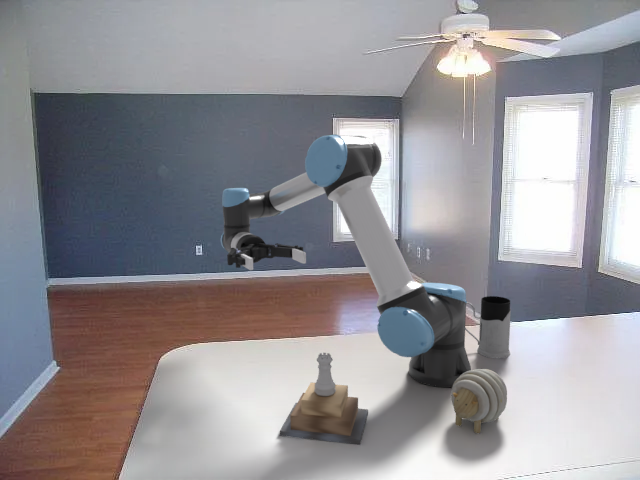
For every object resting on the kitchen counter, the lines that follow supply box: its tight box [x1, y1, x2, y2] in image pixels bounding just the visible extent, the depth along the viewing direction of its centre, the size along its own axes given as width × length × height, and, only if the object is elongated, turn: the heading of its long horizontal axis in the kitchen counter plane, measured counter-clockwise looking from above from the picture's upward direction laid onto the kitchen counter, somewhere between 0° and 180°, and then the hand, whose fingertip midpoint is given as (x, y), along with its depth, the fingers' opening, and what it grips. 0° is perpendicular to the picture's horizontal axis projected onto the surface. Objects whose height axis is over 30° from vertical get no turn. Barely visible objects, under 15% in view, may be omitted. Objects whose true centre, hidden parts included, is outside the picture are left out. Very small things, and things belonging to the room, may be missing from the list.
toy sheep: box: [450, 368, 508, 434], centre depth 105 cm, size 11×17×11 cm, turn 138°
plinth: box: [279, 382, 369, 445], centre depth 105 cm, size 16×12×7 cm
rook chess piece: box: [314, 352, 336, 397], centre depth 104 cm, size 4×4×8 cm
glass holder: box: [465, 295, 512, 359], centre depth 142 cm, size 9×14×15 cm, turn 71°
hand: (278, 261), depth 121 cm, fingers open, 13 cm apart
